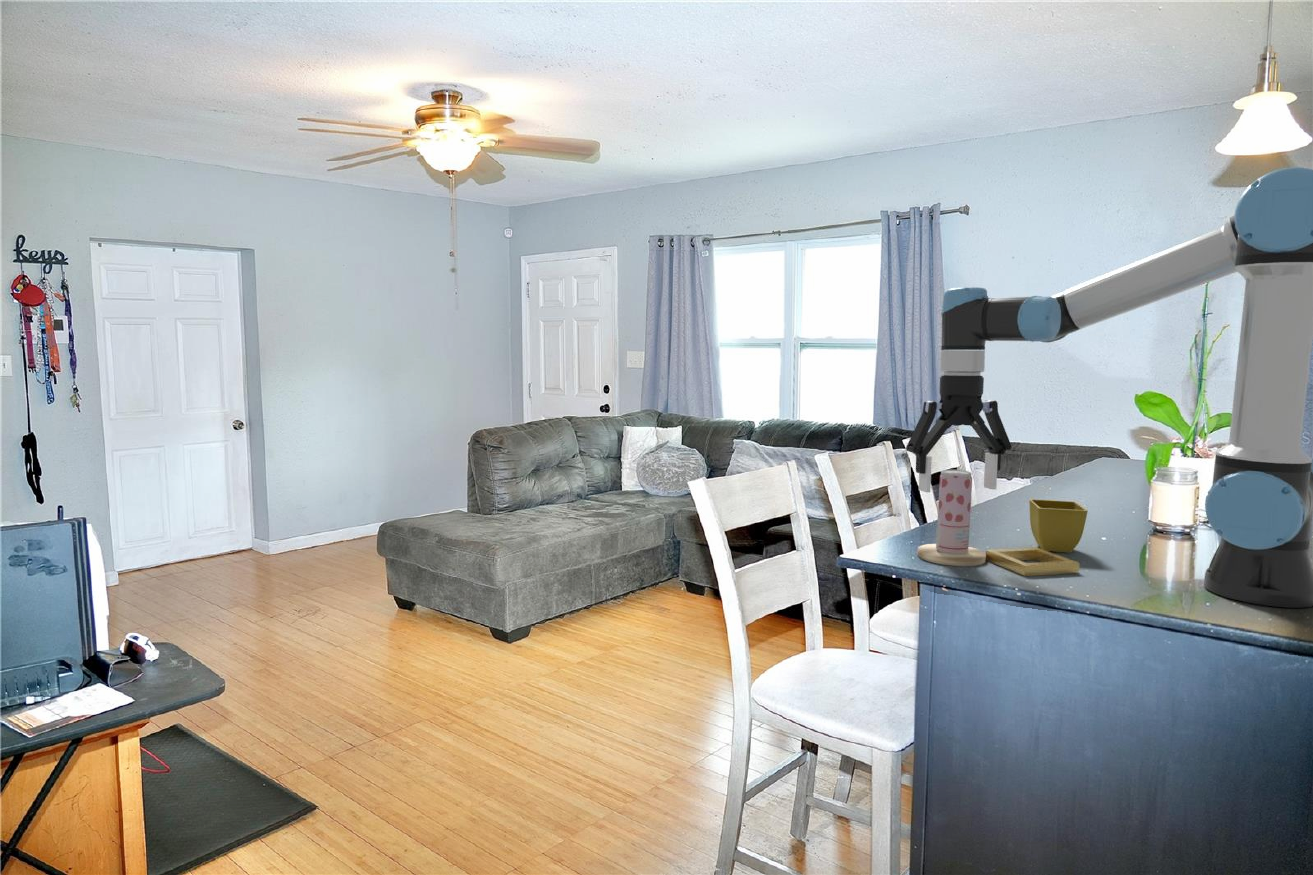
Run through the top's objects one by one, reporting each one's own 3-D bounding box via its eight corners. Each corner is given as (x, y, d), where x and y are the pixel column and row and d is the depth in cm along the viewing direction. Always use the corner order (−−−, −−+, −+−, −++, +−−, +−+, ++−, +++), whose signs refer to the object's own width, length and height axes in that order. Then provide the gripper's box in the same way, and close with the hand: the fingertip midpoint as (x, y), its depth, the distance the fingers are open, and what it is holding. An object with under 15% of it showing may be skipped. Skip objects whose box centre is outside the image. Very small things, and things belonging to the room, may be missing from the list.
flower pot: (1085, 556, 161) (1088, 510, 160) (1035, 553, 163) (1039, 507, 162) (1072, 545, 170) (1075, 501, 169) (1025, 543, 171) (1028, 499, 170)
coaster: (999, 564, 154) (999, 558, 154) (940, 567, 151) (940, 561, 151) (960, 548, 166) (961, 542, 166) (905, 551, 163) (905, 544, 163)
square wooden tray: (1078, 572, 150) (1079, 562, 149) (1024, 576, 147) (1024, 565, 147) (1036, 557, 160) (1037, 547, 160) (985, 559, 158) (985, 550, 157)
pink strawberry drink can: (959, 556, 154) (964, 475, 153) (930, 550, 158) (934, 471, 157) (973, 551, 158) (978, 472, 157) (944, 546, 162) (949, 468, 161)
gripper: (1008, 373, 161) (1003, 484, 163) (889, 374, 155) (885, 489, 157) (1035, 374, 154) (1029, 490, 156) (910, 375, 148) (907, 495, 150)
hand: (957, 490), depth 157 cm, fingers open, 13 cm apart
